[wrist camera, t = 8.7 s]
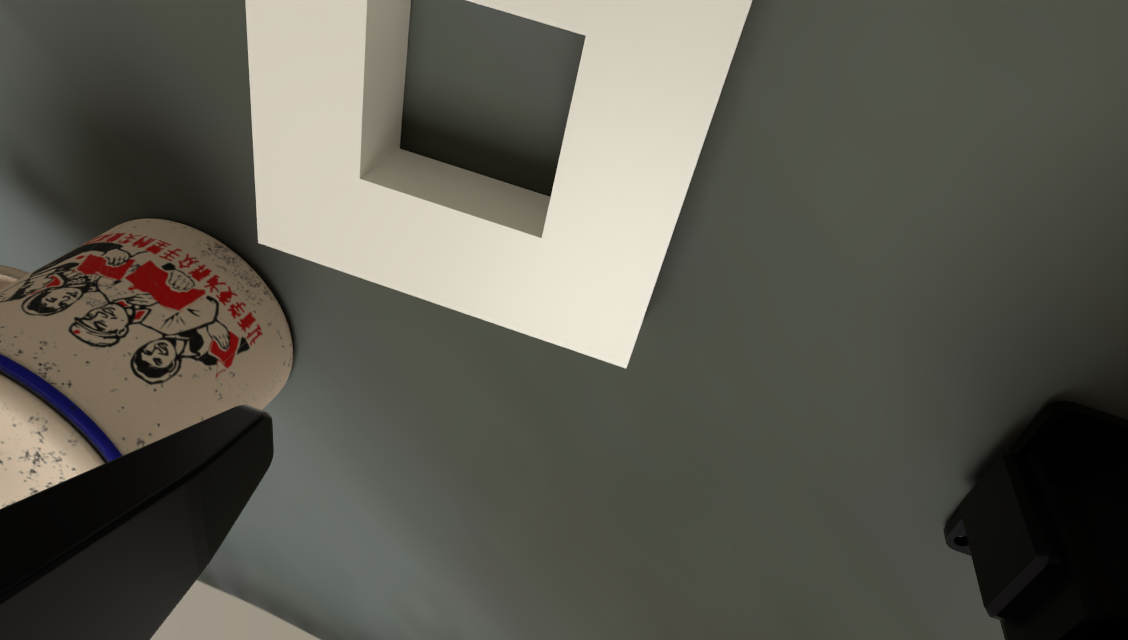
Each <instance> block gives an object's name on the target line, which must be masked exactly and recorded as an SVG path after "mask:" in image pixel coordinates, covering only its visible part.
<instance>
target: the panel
mask: <svg viewBox="0 0 1128 640" xmlns="http://www.w3.org/2000/svg"><path fill="white" fill-rule="evenodd" d="M467 1H470V2H474V3H477V4H481V5H484V6H487V7H491V8H494V9H497V10H501V11H504V12H508V13H511V14H514V15H518V16H521V17H525V18H528V19H531V20H535V21H538V22H541V23H545V24H548V25H552V26H555V27H558V28H562V29H565V30H569V31H572V32H575V33H579V34H582V35H586V38H585V42H584V47H583V52H582V56H581V61H580V65H579V70H578V74H577V79H576V84H575V88H574V93H573V97H572V102H571V106H570V111H569V116H568V120H567V125H566V129H565V134H564V138H563V143H562V148H561V152H560V157H559V161H558V166H557V170H556V175H555V180H554V184H553V189H552V193H551V197H549V196H546V195H543V194H540V193H537V192H534V191H531V190H527V189H524V188H521V187H518V186H515V185H512V184H509V183H506V182H503V181H499V180H496V179H493V178H490V177H487V176H484V175H481V174H478V173H474V172H471V171H468V170H465V169H462V168H459V167H456V166H453V165H449V164H446V163H443V162H440V161H437V160H434V159H431V158H428V157H424V156H421V155H418V154H415V153H412V152H409V151H406V150H403V149H400V139H401V126H402V113H403V100H404V87H405V74H406V61H407V47H408V34H409V21H410V8H411V0H246V19H247V38H248V58H249V77H250V96H251V115H252V134H253V153H254V172H255V192H256V211H257V230H258V243H260V244H263V245H266V246H269V247H272V248H275V249H278V250H281V251H284V252H286V253H289V254H292V255H295V256H298V257H301V258H304V259H307V260H310V261H313V262H316V263H319V264H322V265H325V266H327V267H330V268H333V269H336V270H339V271H342V272H345V273H348V274H351V275H354V276H357V277H360V278H363V279H366V280H368V281H371V282H374V283H377V284H380V285H383V286H386V287H389V288H392V289H395V290H398V291H401V292H404V293H407V294H409V295H412V296H415V297H418V298H421V299H424V300H427V301H430V302H433V303H436V304H439V305H442V306H445V307H448V308H450V309H453V310H456V311H459V312H462V313H465V314H468V315H471V316H474V317H477V318H480V319H483V320H486V321H489V322H491V323H494V324H497V325H500V326H503V327H506V328H509V329H512V330H515V331H518V332H521V333H524V334H527V335H530V336H532V337H535V338H538V339H541V340H544V341H547V342H550V343H553V344H556V345H559V346H562V347H565V348H568V349H571V350H573V351H576V352H579V353H582V354H585V355H588V356H591V357H594V358H597V359H600V360H603V361H606V362H609V363H612V364H614V365H617V366H620V367H623V368H627V365H628V362H629V359H630V356H631V353H632V350H633V347H634V345H635V342H636V339H637V336H638V333H639V330H640V327H641V324H642V321H643V318H644V315H645V312H646V309H647V307H648V304H649V301H650V298H651V295H652V292H653V289H654V286H655V283H656V280H657V277H658V274H659V271H660V269H661V266H662V263H663V260H664V257H665V254H666V251H667V248H668V245H669V242H670V239H671V236H672V234H673V231H674V228H675V225H676V222H677V219H678V216H679V213H680V210H681V207H682V204H683V201H684V198H685V196H686V193H687V190H688V187H689V184H690V181H691V178H692V175H693V172H694V169H695V166H696V163H697V160H698V158H699V155H700V152H701V149H702V146H703V143H704V140H705V137H706V134H707V131H708V128H709V125H710V123H711V120H712V117H713V114H714V111H715V108H716V105H717V102H718V99H719V96H720V93H721V90H722V87H723V85H724V82H725V79H726V76H727V73H728V70H729V67H730V64H731V61H732V58H733V55H734V52H735V49H736V47H737V44H738V41H739V38H740V35H741V32H742V29H743V26H744V23H745V20H746V17H747V14H748V12H749V9H750V6H751V3H752V0H467Z"/></svg>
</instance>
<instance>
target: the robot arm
mask: <svg viewBox="0 0 1128 640" xmlns="http://www.w3.org/2000/svg"><path fill="white" fill-rule="evenodd" d="M1065 416H1066V417H1070V418H1069V419H1067V420H1065V421H1061V422H1060V421H1056V420H1057V419H1059V418H1061V417H1065ZM273 452H274V449H273V427H272V418H271V416H270V414H269V413H267V412H265V411H263V410H260V409H257V408H254V407H252V406H249V405H239V406H236V407H233V408H231V409H229V410H226V411H224V412H222V413H220V414H217V415H215V416H213V417H210V418H208V419H206V420H203V421H201V422H199V423H197V424H194V425H192V426H190V427H187V428H185V429H183V430H180V431H178V432H176V433H174V434H171V435H169V436H167V437H164V438H162V439H160V440H158V441H155V442H153V443H151V444H148V445H146V446H144V447H141V448H139V449H137V450H135V451H132V452H130V453H128V454H125V455H123V456H121V457H118V458H116V459H114V460H112V461H109V462H107V463H105V464H102V465H100V466H98V467H96V468H93V469H91V470H89V471H86V472H84V473H82V474H79V475H77V476H75V477H73V478H70V479H68V480H66V481H63V482H61V483H59V484H57V485H54V486H52V487H50V488H47V489H45V490H43V491H40V492H38V493H36V494H34V495H31V496H29V497H27V498H24V499H22V500H20V501H17V502H15V503H13V504H11V505H8V506H6V507H4V508H1V509H0V640H150V639H151V638H152V636H153V635H154V634H155V632H156V631H157V630H158V629H159V627H160V626H161V625H162V623H163V622H164V621H165V620H166V618H167V617H168V616H169V614H170V613H171V612H172V610H173V609H174V608H175V607H176V605H177V604H178V603H179V602H180V600H181V599H182V598H183V596H184V595H185V594H186V593H187V591H188V590H189V589H190V587H191V586H192V585H193V584H194V582H195V581H196V580H197V578H198V577H199V576H200V574H201V573H202V572H203V570H204V569H205V568H206V566H207V565H208V564H209V562H210V561H211V559H212V558H213V556H214V555H215V553H216V552H217V550H218V549H219V547H220V546H221V544H222V542H223V541H224V539H225V538H226V536H227V534H228V533H229V531H230V530H231V528H232V526H233V525H234V523H235V522H236V520H237V518H238V517H239V515H240V514H241V512H242V510H243V509H244V507H245V505H246V504H247V502H248V501H249V499H250V497H251V496H252V494H253V493H254V491H255V489H256V488H257V486H258V485H259V483H260V481H261V480H262V478H263V477H264V475H265V473H266V472H267V470H268V468H269V466H270V464H271V462H272V459H273ZM944 535H945V540H946V544H947V545H948V546H949V547H950V548H952V549H954V550H956V551H959V552H962V553H965V554H967V555H970V556H972V560H973V564H974V568H975V572H976V576H977V580H978V584H979V588H980V592H981V596H982V600H983V604H984V607H985V609H986V611H987V613H988V615H989V616H990V617H993V618H995V619H998V620H1000V622H1001V626H1002V630H1003V634H1004V637H1005V640H1128V420H1125V419H1122V418H1119V417H1116V416H1113V415H1110V414H1107V413H1103V412H1100V411H1097V410H1094V409H1091V408H1088V407H1085V406H1082V405H1079V404H1076V403H1073V402H1068V401H1058V402H1054V403H1051V404H1049V405H1047V406H1046V407H1045V408H1044V409H1043V410H1042V411H1041V412H1040V414H1039V415H1038V416H1037V417H1036V418H1035V419H1034V421H1033V422H1032V423H1031V424H1030V425H1029V427H1028V428H1027V429H1026V430H1025V431H1024V433H1023V434H1022V435H1021V436H1020V437H1019V439H1018V440H1017V441H1016V442H1015V443H1014V445H1013V446H1012V447H1011V448H1010V449H1009V451H1008V452H1006V453H1004V454H1002V455H1001V456H999V458H998V459H997V460H996V461H995V462H994V464H993V465H992V466H991V467H990V469H989V470H988V471H987V472H986V473H985V475H984V476H983V477H982V478H981V479H980V481H979V482H978V483H977V484H976V485H975V487H974V488H973V489H972V490H971V491H970V493H969V494H968V495H967V496H966V497H965V499H964V500H963V501H962V502H961V504H960V509H959V511H958V512H957V513H956V514H955V515H954V517H953V518H952V519H951V520H950V521H949V523H948V524H947V525H946V526H945V528H944ZM961 535H963V536H964V537H957V536H961Z"/></svg>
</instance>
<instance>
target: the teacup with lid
mask: <svg viewBox="0 0 1128 640" xmlns="http://www.w3.org/2000/svg"><path fill="white" fill-rule="evenodd" d="M292 363H293V345H292V338H291V333H290V330H289V326H288V323H287V321H286V318H285V316H284V313H283V311H282V309H281V307H280V305H279V303H278V302H277V300H276V298H275V297H274V295H273V293H272V292H271V290H270V289H269V288H268V286H267V285H266V284H265V282H264V281H263V280H262V279H261V277H260V276H259V275H258V274H257V273H256V272H255V271H254V270H253V269H252V268H251V267H250V266H249V265H248V264H247V263H246V262H245V261H244V260H243V259H242V258H241V257H240V256H239V255H237V254H236V253H235V252H233V251H232V250H231V249H230V248H228V247H227V246H225V245H224V244H222V243H221V242H220V241H218V240H216V239H215V238H213V237H211V236H209V235H208V234H206V233H204V232H201V231H199V230H197V229H195V228H192V227H190V226H187V225H184V224H181V223H177V222H173V221H169V220H163V219H136V220H132V221H127V222H125V223H122V224H120V225H117V226H115V227H114V228H112V229H110V230H108V231H106V232H105V233H103V234H101V235H99V236H97V237H96V238H94V239H92V240H90V241H88V242H86V243H85V244H83V245H81V246H79V247H77V248H76V249H74V250H72V251H70V252H68V253H67V254H65V255H63V256H61V257H59V258H57V259H56V260H54V261H52V262H50V263H48V264H47V265H45V266H43V267H41V268H39V269H38V270H36V271H34V272H32V273H28V272H25V271H22V270H19V269H16V268H13V267H8V266H4V265H0V509H1V508H4V507H6V506H8V505H11V504H13V503H15V502H17V501H20V500H22V499H24V498H27V497H29V496H31V495H34V494H36V493H38V492H40V491H43V490H45V489H47V488H50V487H52V486H54V485H57V484H59V483H61V482H63V481H66V480H68V479H70V478H73V477H75V476H77V475H79V474H82V473H84V472H86V471H89V470H91V469H93V468H96V467H98V466H100V465H102V464H105V463H107V462H109V461H112V460H114V459H116V458H118V457H121V456H123V455H125V454H128V453H130V452H132V451H135V450H137V449H139V448H141V447H144V446H146V445H148V444H151V443H153V442H155V441H158V440H160V439H162V438H164V437H167V436H169V435H171V434H174V433H176V432H178V431H180V430H183V429H185V428H187V427H190V426H192V425H194V424H197V423H199V422H201V421H203V420H206V419H208V418H210V417H213V416H215V415H217V414H220V413H222V412H224V411H226V410H229V409H231V408H233V407H236V406H239V405H249V406H252V407H254V408H257V409H260V410H263V409H264V408H265V406H266V405H267V404H268V403H269V402H270V401H271V400H272V399H273V398H274V397H275V396H276V395H277V394H278V393H279V392H280V390H281V389H282V388H283V387H284V385H285V383H286V382H287V380H288V377H289V375H290V372H291V368H292Z"/></svg>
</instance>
